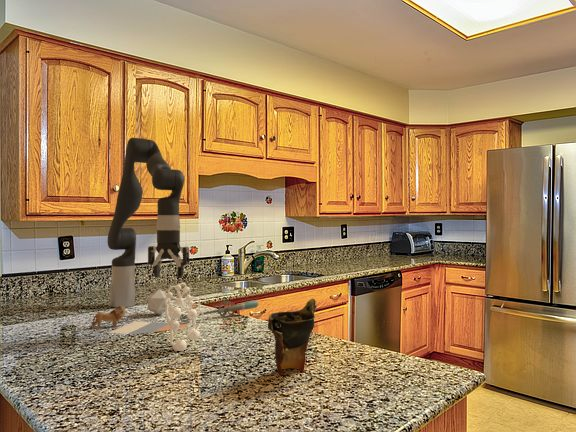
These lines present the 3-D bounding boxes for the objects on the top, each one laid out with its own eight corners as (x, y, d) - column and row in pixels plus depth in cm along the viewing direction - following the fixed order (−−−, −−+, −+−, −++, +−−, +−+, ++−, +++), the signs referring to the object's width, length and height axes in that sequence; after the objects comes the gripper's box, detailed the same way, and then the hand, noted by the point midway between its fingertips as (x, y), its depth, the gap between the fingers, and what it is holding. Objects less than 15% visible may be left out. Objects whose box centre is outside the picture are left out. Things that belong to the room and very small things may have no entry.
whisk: (174, 331, 171) (170, 313, 172) (250, 315, 189) (246, 299, 190) (183, 326, 162) (180, 307, 164) (262, 310, 180) (258, 293, 182)
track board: (89, 332, 154) (89, 331, 154) (117, 321, 170) (117, 320, 170) (167, 337, 148) (167, 336, 148) (188, 325, 164) (188, 324, 164)
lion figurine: (124, 324, 165) (124, 304, 165) (126, 327, 161) (126, 306, 161) (88, 328, 159) (87, 307, 159) (89, 331, 156) (89, 309, 155)
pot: (297, 363, 123) (297, 295, 123) (332, 372, 116) (332, 300, 116) (251, 381, 110) (251, 305, 110) (289, 393, 103) (289, 311, 103)
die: (164, 318, 175) (164, 291, 175) (143, 317, 177) (143, 290, 177) (174, 313, 184) (174, 288, 184) (153, 312, 185) (153, 287, 185)
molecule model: (196, 272, 134) (186, 271, 136) (159, 298, 123) (149, 296, 126) (213, 329, 140) (203, 327, 143) (179, 359, 130) (169, 356, 132)
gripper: (143, 229, 154) (143, 278, 154) (183, 229, 151) (183, 279, 151) (154, 228, 162) (154, 275, 162) (192, 228, 159) (193, 276, 159)
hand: (168, 277), depth 157 cm, fingers open, 7 cm apart
